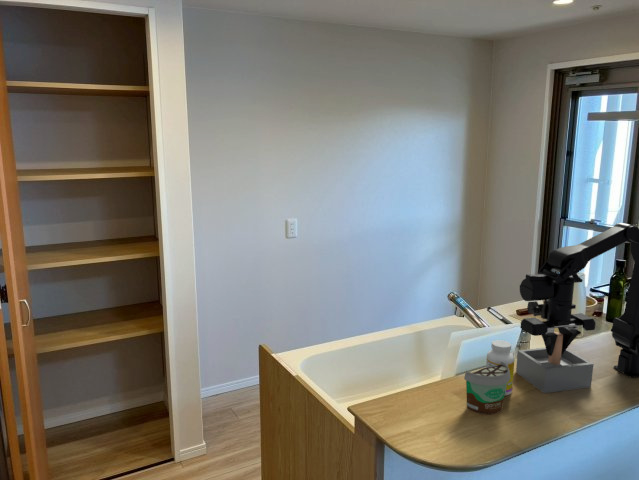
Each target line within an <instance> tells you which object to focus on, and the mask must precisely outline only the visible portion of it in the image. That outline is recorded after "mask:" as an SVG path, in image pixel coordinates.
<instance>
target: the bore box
mask: <svg viewBox="0 0 639 480" xmlns="http://www.w3.org/2000/svg"><path fill="white" fill-rule="evenodd" d="M548 358H549V355H548V353H547V350H546V347H538V348H537V347H536V348H528V349H518V350H517V356H516V367H515V373H516V372H517V373H518V374H517V373H516V374H517V375H519V376H520V377H521V376H522V377H521V378H523V379H524V380H525V381H527V383H529V384H530V385H532V386H533V387H535V388H536V389H537V390H539V391H540V392H542V393H543V394H548V393H555V392H564V391H571V390H572V391H573V390H578V389H586V388H587V389H588V388H591V387H592V380H593V373H594V363H593V362H591V361H589V360H588V359H586V358H584V357H582V356H581V355H579V354H577V353H576V352H573V350H570V349H569V348H567V349H566V350H565V352H564V353H563V354H562V355H561V363H560V364H559V365H554V364H551V363H549V362H548Z"/></svg>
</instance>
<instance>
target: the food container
mask: <svg viewBox="0 0 639 480" xmlns="http://www.w3.org/2000/svg"><path fill="white" fill-rule="evenodd" d="M464 380H465V385H466V391H465V392H466V409H467V410H469V411H471V412H473V413H476V414H481V415H495V414H498V413H500V412H501V411H502V410H503V406H504V399H505V396H506V395H505V389H506V384H507V382H508V381H509V380H510V371H509V369H508V366H507V365H506V364H505V363H503V362H502V361H501V363H500V365H498V366H495V367H488V368H486V367H483V368H481V369H479V370H477V371H473V372H470V371H468V370H466V371H465V373H464ZM504 395H505V396H504Z"/></svg>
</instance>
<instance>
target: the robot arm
mask: <svg viewBox="0 0 639 480" xmlns="http://www.w3.org/2000/svg"><path fill="white" fill-rule="evenodd" d="M625 243H629V244H630V248H629V249H630V251H629V252H630V254H631V256H632V260H633V263H634V264H633V268H632V272H631V279H630V281H629V282H630V283H629V287H628V291H627V297H626V302H625V305H624V306H625V307H624V310H623V313H622V314H621V315H620V316H619V317H614V318H613V320H612V327H611V328H610V332H611V335H612V338H613V339H614V342H615V346H617V347H619V348H621V349H620V350H619V354H618V360H617V365H613V369H615V370H616V371H619V372H620V373H623V374H624V375H626V376H628V377H629V378H639V227H636V225H633V224H629V223H625V222H619V223H616V224H614V225H613V226H612V227H611V228H608V229H607V230H605V231H603V232H600V233H598V234H596V235H594V236H593V237H590V238H588V239H587V240H585V241H583V242H581V243H579V244H575V245H567V246H563V247H559V248H556V249H554V250H552V251H551V252H550V253H549V254H548V258H547V259H546V260H545V262H544V263H543V264H542V265H541V267H540V268H539V269H538V271H537V274H531V273H527V274H526V275H525V278H524V279H522V281H521V283H520V284H519V294H520V297H521V298H522V300H524V301H525V302H527V306H526V307H527V313H528V314H533V317H526V318H525V317H524V318H523V319H521V321H520V326H519V328H520V329H521V330H523V331H524V332H527V333H528V334H530V335H531V336H537V337H538V336H539V337H540V336H541V337H542V340H543V343H544V346H545V347H546V350H547V353H548V355H549V356H551V355H552V353H553V350H554V347H555V343H556V339H557V336H558V335H557V334H555V333H554V332H555V329H556V328H557V329H558V332H559V333H562V334H563V343H562V353H561V355H562V354H563V353H564V352H565V350H566V349H569V346H570V345H571V343H573V341H574V340H575V339H576V338H577V337H578V335H581V333H582V331H580V330H578V327H579V326H582V329H583V330H584V331H595V330H596V320H595V319H594V318H593V317H590V316H589V315H586V314H584V313H583V312H582V313H572V310H576V304H575V303H573V299H574V290H575V289H574V288H575V284H576V283H577V284H578V283H582V282H583V279H582V278H581V277H579V275H578V274H579V272H581V271H583V270H584V269H585V268H586V267H587V264H588V263H589V262H590V261H591V260H593V259H595V258H597V257H599V256H601V255H603V254H605V253H607V252H609V251H610V250H611V251H612V250H613V249H615V248H616V247H618V246H620V245H622V244H625ZM556 272H558V273H556ZM538 301H543V303H538ZM538 316H540V318H541V319H543V320H544V321H542V320H540V319H538V318H537V317H538ZM545 347H544V348H545Z"/></svg>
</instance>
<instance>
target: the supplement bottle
mask: <svg viewBox="0 0 639 480" xmlns="http://www.w3.org/2000/svg"><path fill="white" fill-rule="evenodd" d="M511 350H512V344H511V343H510V342H509V341H506V340H503V339H502V340H501V339H497V340H492V342H491V350H489V351H488V352H487V353H486V363H485V364H486V365H485V368H488V367H495V366H498V365H500V363H501V361H502V362H503V363H505V364H506V365H507V366H508V369H509V371H510V380H509V381H508V382H507V384H506V389H505V395H504V397H505V396H508V395H511V394H512V393H513V385H514V371H515V370H514V369H515V356H514V353H512V351H511Z"/></svg>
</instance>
